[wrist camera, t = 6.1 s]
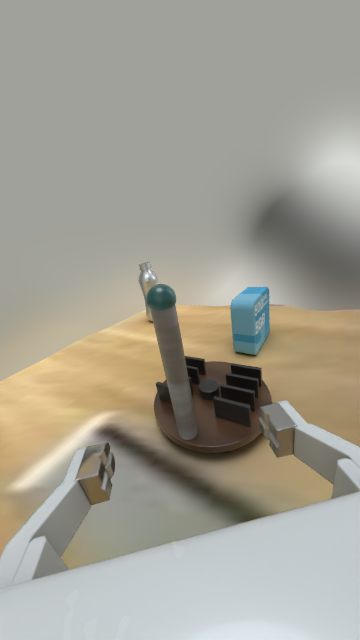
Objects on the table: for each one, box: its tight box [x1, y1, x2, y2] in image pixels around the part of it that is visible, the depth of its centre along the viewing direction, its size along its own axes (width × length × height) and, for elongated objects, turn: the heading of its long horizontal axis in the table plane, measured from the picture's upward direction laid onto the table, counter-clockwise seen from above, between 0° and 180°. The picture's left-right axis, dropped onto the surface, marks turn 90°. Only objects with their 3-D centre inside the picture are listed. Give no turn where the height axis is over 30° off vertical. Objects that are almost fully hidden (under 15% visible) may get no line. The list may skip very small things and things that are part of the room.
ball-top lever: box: [146, 284, 272, 453], centre depth 27 cm, size 17×17×19 cm
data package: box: [231, 287, 269, 355], centre depth 44 cm, size 12×4×12 cm, turn 145°
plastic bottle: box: [139, 262, 158, 321], centre depth 69 cm, size 6×7×20 cm
